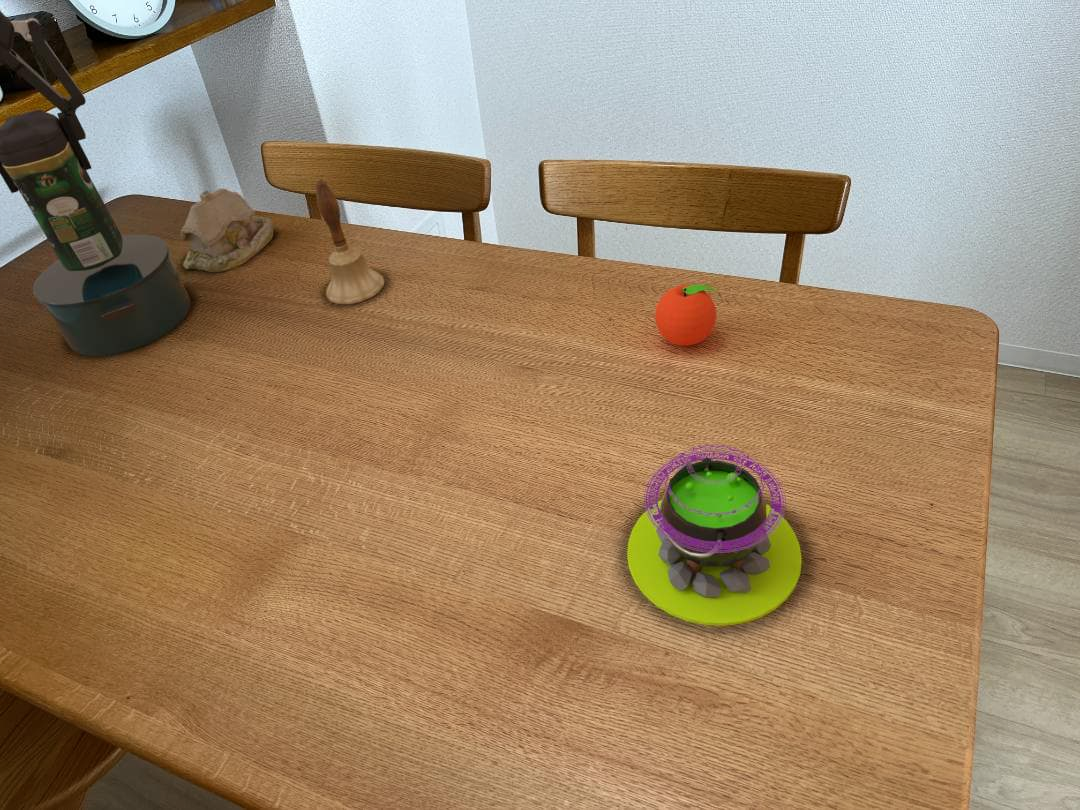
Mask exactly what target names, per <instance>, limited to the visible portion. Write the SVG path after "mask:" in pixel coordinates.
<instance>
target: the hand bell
mask: <svg viewBox="0 0 1080 810" xmlns="http://www.w3.org/2000/svg"><path fill="white" fill-rule="evenodd" d="M315 199H316V200H315V201H316V205H317V208H318V211H319V213H320V215H321V217H322V219H323V221H324V222H325V223H326V225H327V227H328V228H329V231H330V235H331V238H332V239H331V240H332V241H333V245H334V248H335V249H334V250H335V251H333V252H332V253H331V254H330V255H329V257H328V263H329V267H330V282H329V283H328V285H327V287H326V291H325V296H326V299H327V300H328V301H329V302H331V303H334V304H336V305H353V304H354V305H355V304H358V303H362V302H364V301H367V300H369V299H371V298H373V297H374V296H376V295H377V294H378V293H380V291H381V290H382V289H383V288H384V286H385V279H384V276H383V275H382V274H381V273H380V272H378V271H376V270H374V269H372V268H371V267H370V266H369V265H368V264H367V262H366V260H365V258H364V256H363V254H362V252H361V250H360V249H359V248H357V247H353V246H349V245H348V242H347V239H346V236H345V233H344V231H343V228H342V225H341V211H340V206H339V202H338V199H337V197H336V195H335V193H334V192H333V190H332V189H331V188H330V186H329V185H328V183H327V181H326V180H325V179H319V180H317V181H316V182H315Z"/></svg>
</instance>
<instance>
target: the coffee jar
mask: <svg viewBox="0 0 1080 810" xmlns="http://www.w3.org/2000/svg"><path fill="white" fill-rule="evenodd" d="M0 162H1V163H2V165H3V167H4V169H5V170H6V171H7V173H8V174H9V176H10V177H11V179H12V180H13V182H14V184H15V185H16V187H17V188H18V192H19V193H20V195H21V197H22V198H23V200H24V202H25V204H26V205H27V207H28V208H29V210H30V211H31V213H32V215H33V217H34V219H35V220H36V222H37V223H38V225H39V227H40V229H41V230H42V233H44V235H45V237H46V239H47V241H48V242H49V244H50V246H51V247H52V250H53V251H54V253H55V255H56V256H57V258H58V260H60V262H61V263H62V265H63V266H64V268H65V269H67V270H69V271H83V270H91V269H95V268H98V267H101V266H103V265H104V264H106V263H108V262H110V261H111V260H113V259H115V258H117V257H118V256H119V255H120V253H121V251H122V245H123V243H122V236H123V235H122V233H121V231H120V230H119V228H118V225H117V224H116V222H115V220H114V218H113V217H112V214H111V213H110V211H109V210H108V208H107V206H106V204H105V202H104V200H103V199H102V197H101V194H100V193H99V191H98V190H97V188H96V187H97V186H96V185H95V184H94V182H93V180H92V178H91V176H90V174H89V172H88V170H85V168H84V166H83V164H82V163H81V161H80V159H79V157H78V155H77V153H76V151H75V149H74V147H73V145H72V143H71V142H70V140H69V138H68V136H67V134H66V132H65V130H64V128H63V126H62V124H61V122H60V120H59V118H58V116H56V115H55V114H53V113H50V112H47V111H43V110H41V109H35V110H31V111H27V112H23V113H19V114H15V115H11V116H8V117H6V118H5V121H4V122H3V123H2V124H1V125H0Z"/></svg>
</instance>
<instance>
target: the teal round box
mask: <svg viewBox="0 0 1080 810" xmlns="http://www.w3.org/2000/svg"><path fill="white" fill-rule="evenodd" d="M121 236H122V243H123V245H122V251H121V253H120V255H119V256H118V257H117V258H115V259H113V260H111V261H110V262H108V263H106V264H104V265H103V266H101V267H98V268H95V269H91V270H83V271H69V270H67V269H65V268H64V266H63V265H62V263H61V262H60V260H59V259H57V260H56V261H54V262H52V263H51V264H50V265H48V267H46V268H45V269H44V270H43V271H42V272H41V273H40V274H39V276H37V278H36V279H35V281H34V283H33V286H32V293H33V296H34V297H35V299H36V300H37V301H38V302H39V303H40V304H42V305H43V307H44V309H45V310H46V312H47V313H48V315H49V316H50V318H51V320H52V321H53V323H54V325H55V326H56V328H57V330H59V332H60V334H61V335H62V337H63V338H64V340H65V341H66V343H67V345H68V347H69V348H70V349H71V350H72V351H74V352H75V353H77V354H80V355H83V356H89V357H105V356H112V355H118V354H123V353H126V352H129V351H133V350H135V349H139V348H141V347H143V346H146V345H148V344H150V343H152V342H154V341H156V340H158V339H160V338H162V337H164V336H165V335H166V334H168V333H169V332H170V331H172V330H173V329H174V328H176V327H177V326H178V325H179V324H181V322H182V321H183V320H184V319H185V317H186V316H187V314H188V313H189V311H190V308H191V298H190V295H189V293H188V291H187V289H186V287H185V285H184V282H183V281H182V279H181V276H180V275H179V273H178V270H177V268H176V267H175V264H174V262H173V260H172V258H171V256H170V250H169V247H168V245H167V243H166V242H165V240H163V239H162V238H160V237H157V236H154V235H149V234H130V235H121Z"/></svg>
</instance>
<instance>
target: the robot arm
mask: <svg viewBox="0 0 1080 810" xmlns="http://www.w3.org/2000/svg"><path fill="white" fill-rule="evenodd" d="M15 33H19V34H20V35H21V36H22V38H23V39H24V40H25V41H26V42H27V41H28V42H32V43H33V45H34V47H35V49H36V50H37V52H38V53H39V54H40V57H42V59H43V60H44V61H45V63H46V64H47V66H48V67H49V68H50V70H51V71H52V73H53V75H54V76H55V77H56V79H58V81H59V82H60V83H61V85H62V87H64V89H65V91H66V92H67V93H68V95H69V96H68V97H65V96H63V95H62V94H61V93H60V92H59V91H58V90H57V89H56V88H55V87H53V86H52V85H51V84H50V83H49V82H48V81H47V80H46V79H45V78H43V77H42V76H41V75H40V74H39V73H38V72H37V71H36V70H35V69H33V68H32V66H30V65H29V64H28V63H27V62H26V61H25V60H24V59H23V58H22V57H21V55H19V54H18V53H17V52H16V51H14V50H13V49H12V47H13V43H14V36H15ZM5 64H6V65H7V66H8V67H9V68H11V70H13V71H15V72H16V73H17V74H18V75H19V76H20V77H21V78H23V79H24V80H25V81H26V82H27V83H28V84H29V85H31V86H32V87H33V88H34V89H35V90H36V91H37V92H38V93H39V94H40V95H42V96H43V97H44V98H45V99H46V100H48V102H50V103H51V104H52V105H53V106H54V108H56V109H58V110H59V111H60V112H57V114H56V115H57V118H58V119H59V120H60V122H61V124H62V126H63V128H64V130H65V132H66V134H67V136H68V138H69V140H70V142H71V143H72V145H73V147H74V149H75V151H76V153H77V155H78V157H79V159H80V161H81V163H82V164H83V166H84V168H85V170H86V171H88V170H92V165H91V162H90V160H89V158H88V155H86V152H85V150H84V149H83V146H82V145H81V143H80V141H83V140H86V138H87V135H86V132H85V129H84V127H83V125H82V123H81V121H80V119H79V118H78V116H77V114H76V111H77V110H78V108H80V107H82V106H84V105H85V104H86V101H87V100H86V97H85V95H84V92H82V90H81V89H80V87H79V86H78V84H77V83H76V81H75V80H74V79H73V78H72V76H71V75H70V73H69V72H68V71H67V69H66V68H65V66H64V65H63V63H62V62H61V61H60V59H59V57H57V55H56V53H55V52H54V51H53V49H52V48H51V46H50V45H49V44H48V42H47V40H46V39H45V38H44V34H43V31H42V28H41V25H40V22H39V20H38V19H37V18H35V17H33V16H30V17H28V18H27V19H24V20H23V19H22V20H11V19H10V18H9V17H8V16H6V15H5V14H4V12H2V11H1V10H0V67H2V66H5ZM0 176H1V177H2V179H3V181H4V184H6V186H7V187H8V190H9V191H10V193H11V194H14V193H17V192H19V190H18V188H17V187H16V185H15V184H14V182H13V180H12V179H11V177H10V176H9V174H8V173H7V171H6V170H5V169H4V167H3V165H2V163H1V162H0Z"/></svg>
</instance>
